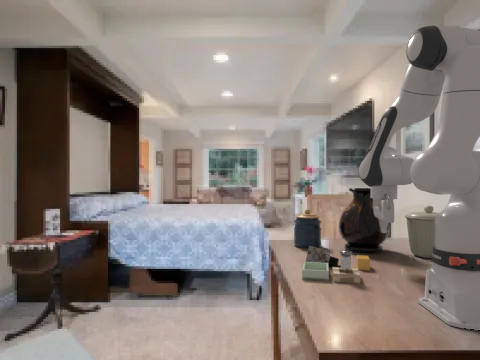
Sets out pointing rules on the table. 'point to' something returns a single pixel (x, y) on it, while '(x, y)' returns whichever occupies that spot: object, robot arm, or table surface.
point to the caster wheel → (320, 256)
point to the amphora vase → (361, 224)
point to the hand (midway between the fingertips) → (383, 232)
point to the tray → (315, 271)
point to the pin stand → (346, 275)
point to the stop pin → (346, 261)
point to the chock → (363, 262)
